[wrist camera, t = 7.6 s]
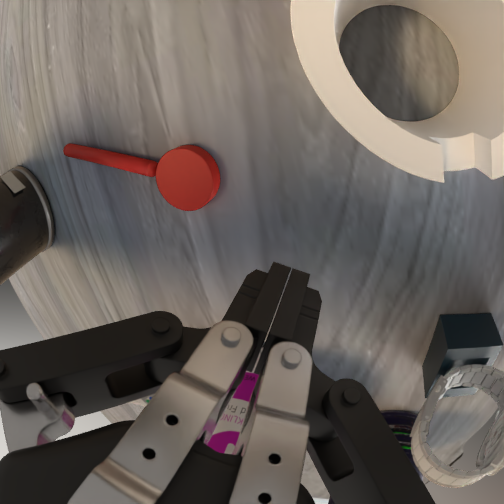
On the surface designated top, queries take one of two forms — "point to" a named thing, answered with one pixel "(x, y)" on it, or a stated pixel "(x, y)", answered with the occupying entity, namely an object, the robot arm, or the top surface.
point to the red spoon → (165, 172)
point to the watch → (461, 392)
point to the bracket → (430, 130)
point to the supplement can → (234, 415)
